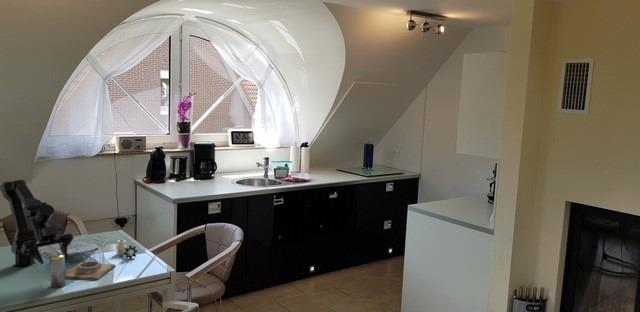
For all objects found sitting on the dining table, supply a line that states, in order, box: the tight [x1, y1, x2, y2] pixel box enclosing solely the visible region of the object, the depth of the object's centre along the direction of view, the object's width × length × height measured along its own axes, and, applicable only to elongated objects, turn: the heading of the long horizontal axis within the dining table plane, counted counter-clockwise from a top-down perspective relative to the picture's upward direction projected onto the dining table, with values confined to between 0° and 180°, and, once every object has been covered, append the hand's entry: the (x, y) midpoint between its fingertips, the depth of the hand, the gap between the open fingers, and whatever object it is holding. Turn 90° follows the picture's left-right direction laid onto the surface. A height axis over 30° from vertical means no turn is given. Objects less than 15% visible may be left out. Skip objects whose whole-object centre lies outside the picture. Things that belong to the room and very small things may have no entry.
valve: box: [116, 239, 138, 260], centre depth 242 cm, size 7×7×12 cm
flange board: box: [65, 260, 117, 281], centre depth 220 cm, size 16×16×4 cm
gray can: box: [49, 253, 66, 289], centre depth 204 cm, size 5×5×12 cm
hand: (54, 260), depth 205 cm, fingers open, 9 cm apart
